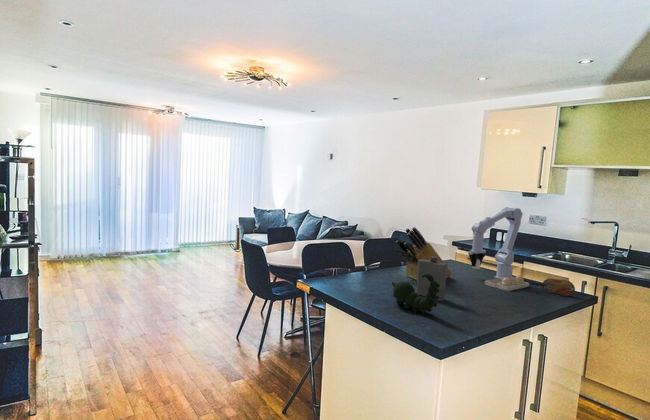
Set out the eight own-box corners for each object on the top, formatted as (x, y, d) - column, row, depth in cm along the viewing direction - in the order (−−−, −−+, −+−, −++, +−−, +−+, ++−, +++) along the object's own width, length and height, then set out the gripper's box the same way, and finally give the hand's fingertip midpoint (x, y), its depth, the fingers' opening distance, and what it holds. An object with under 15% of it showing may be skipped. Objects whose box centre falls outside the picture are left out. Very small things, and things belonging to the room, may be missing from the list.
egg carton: (504, 281, 233) (505, 277, 233) (528, 287, 221) (529, 282, 221) (484, 285, 221) (484, 280, 221) (508, 292, 209) (508, 287, 209)
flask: (447, 299, 190) (450, 259, 188) (441, 301, 186) (444, 260, 184) (420, 292, 200) (423, 253, 199) (414, 294, 196) (416, 255, 195)
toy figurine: (439, 318, 166) (396, 297, 186) (446, 276, 164) (401, 259, 183) (425, 322, 161) (382, 300, 180) (432, 279, 158) (387, 261, 177)
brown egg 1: (504, 286, 217) (505, 276, 217) (511, 288, 214) (512, 278, 213) (499, 287, 215) (500, 277, 214) (507, 289, 211) (508, 279, 211)
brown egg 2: (517, 284, 225) (518, 274, 225) (524, 286, 221) (525, 276, 221) (513, 284, 222) (513, 275, 222) (520, 286, 219) (521, 276, 218)
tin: (541, 292, 212) (543, 277, 211) (541, 291, 215) (542, 276, 214) (574, 297, 205) (575, 282, 204) (573, 296, 208) (575, 280, 207)
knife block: (392, 277, 228) (395, 225, 226) (439, 273, 243) (442, 225, 241) (403, 282, 218) (407, 227, 216) (451, 278, 233) (455, 227, 231)
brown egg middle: (510, 285, 221) (511, 275, 221) (518, 287, 218) (519, 277, 217) (506, 286, 219) (507, 276, 218) (514, 288, 215) (514, 278, 215)
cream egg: (474, 266, 236) (475, 257, 236) (481, 268, 233) (482, 259, 232) (470, 267, 234) (471, 258, 233) (476, 269, 230) (477, 259, 230)
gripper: (479, 241, 239) (477, 263, 240) (464, 242, 231) (462, 265, 232) (489, 243, 234) (487, 265, 235) (474, 244, 225) (473, 267, 226)
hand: (476, 265), depth 233 cm, fingers closed on cream egg, 4 cm apart
